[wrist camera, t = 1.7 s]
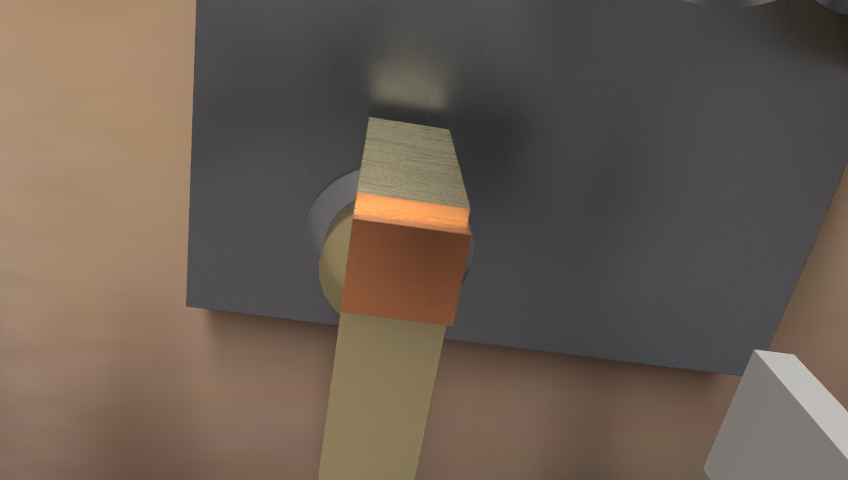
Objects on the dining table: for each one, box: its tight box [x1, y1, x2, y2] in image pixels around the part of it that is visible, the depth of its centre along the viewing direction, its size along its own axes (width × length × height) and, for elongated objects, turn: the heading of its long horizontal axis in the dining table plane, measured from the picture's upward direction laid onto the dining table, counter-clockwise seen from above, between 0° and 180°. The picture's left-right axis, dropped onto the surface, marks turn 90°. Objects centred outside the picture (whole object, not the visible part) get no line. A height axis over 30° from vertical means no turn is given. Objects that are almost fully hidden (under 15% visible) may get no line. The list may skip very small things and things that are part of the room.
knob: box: [318, 117, 472, 480], centre depth 14 cm, size 7×3×6 cm, turn 171°
